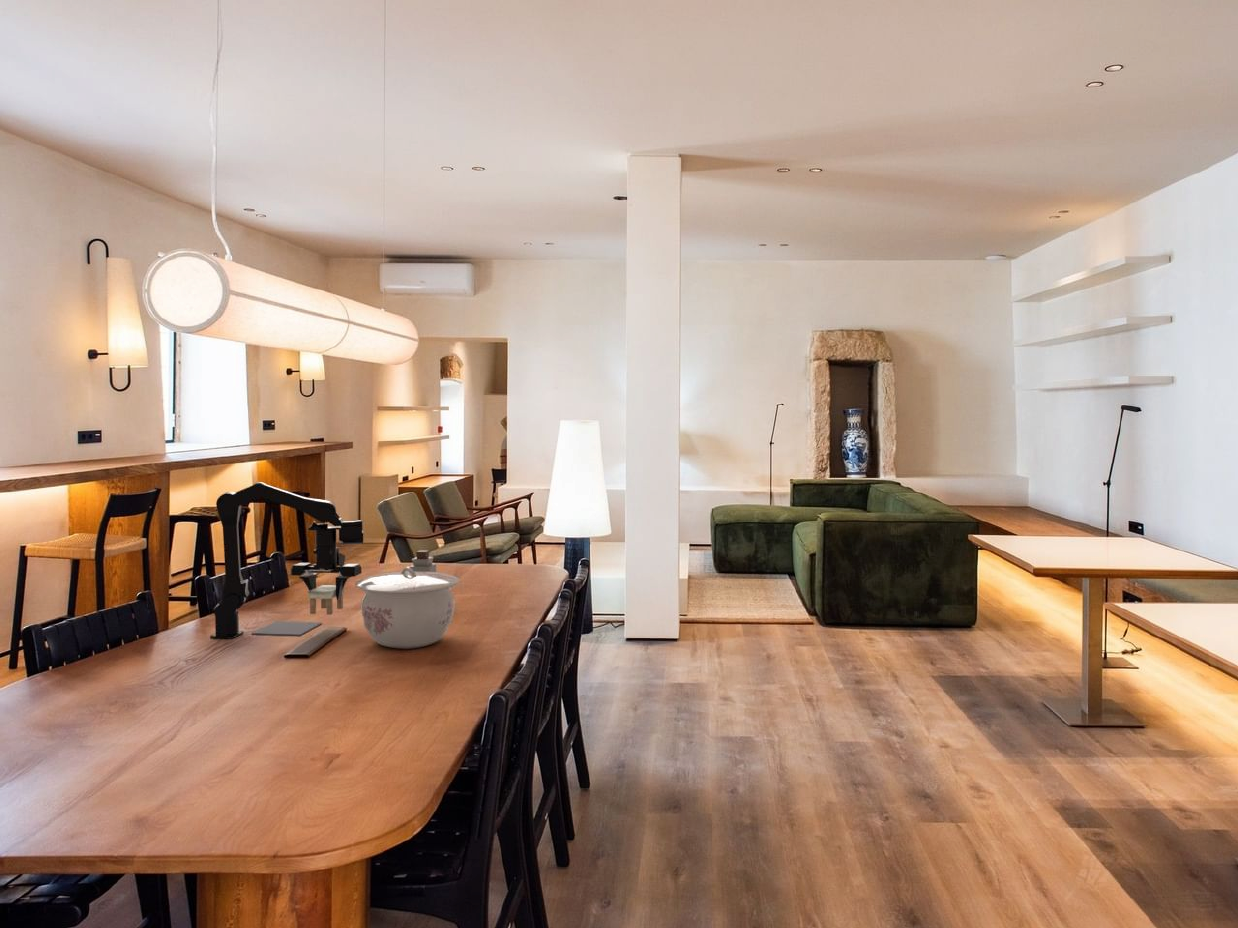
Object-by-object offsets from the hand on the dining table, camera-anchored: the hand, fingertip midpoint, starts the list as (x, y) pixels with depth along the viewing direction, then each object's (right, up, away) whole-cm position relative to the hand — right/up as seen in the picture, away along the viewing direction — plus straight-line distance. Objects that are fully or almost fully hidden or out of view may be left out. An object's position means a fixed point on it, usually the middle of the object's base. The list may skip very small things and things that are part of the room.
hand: (326, 599), depth 245 cm
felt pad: (-11, -9, 0) cm, 14 cm away
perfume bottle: (+21, -7, +31) cm, 38 cm away
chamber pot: (+27, -10, -13) cm, 31 cm away
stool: (0, -3, 0) cm, 3 cm away
